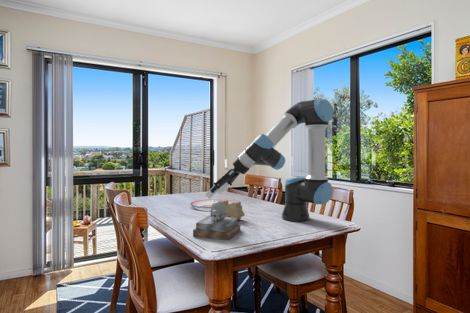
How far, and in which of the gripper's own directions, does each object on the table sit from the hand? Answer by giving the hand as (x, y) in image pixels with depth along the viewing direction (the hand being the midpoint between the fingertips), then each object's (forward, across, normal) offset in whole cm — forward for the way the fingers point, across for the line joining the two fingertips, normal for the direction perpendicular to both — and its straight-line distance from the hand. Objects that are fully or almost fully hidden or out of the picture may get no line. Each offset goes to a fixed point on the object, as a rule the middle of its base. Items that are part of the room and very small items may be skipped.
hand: (213, 194), depth 146 cm
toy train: (+14, +28, -12) cm, 34 cm away
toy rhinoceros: (+7, +1, -10) cm, 13 cm away
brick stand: (+11, 0, -14) cm, 18 cm away
